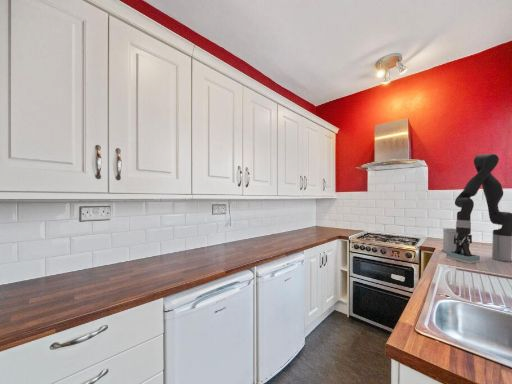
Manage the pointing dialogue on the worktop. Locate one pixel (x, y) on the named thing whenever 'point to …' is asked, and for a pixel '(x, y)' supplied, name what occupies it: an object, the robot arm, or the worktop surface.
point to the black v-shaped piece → (464, 249)
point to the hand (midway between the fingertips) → (462, 249)
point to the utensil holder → (449, 239)
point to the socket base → (463, 257)
